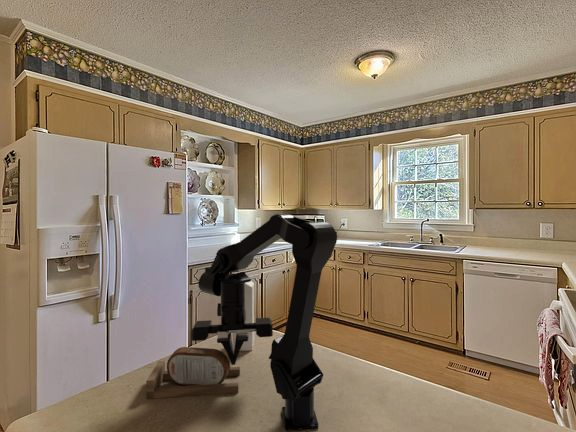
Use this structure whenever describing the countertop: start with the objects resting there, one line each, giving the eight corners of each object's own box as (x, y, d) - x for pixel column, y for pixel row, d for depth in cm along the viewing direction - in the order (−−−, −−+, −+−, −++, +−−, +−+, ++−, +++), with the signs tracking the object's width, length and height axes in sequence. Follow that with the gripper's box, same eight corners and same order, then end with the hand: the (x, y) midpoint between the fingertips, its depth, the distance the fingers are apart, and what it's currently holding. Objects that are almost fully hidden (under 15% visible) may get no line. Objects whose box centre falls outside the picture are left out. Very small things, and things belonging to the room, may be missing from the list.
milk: (232, 351, 92) (231, 276, 92) (235, 342, 98) (234, 272, 98) (253, 350, 92) (252, 276, 92) (254, 342, 99) (253, 272, 98)
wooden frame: (238, 392, 71) (238, 375, 71) (146, 398, 69) (146, 380, 69) (239, 372, 80) (239, 356, 80) (158, 377, 78) (158, 361, 78)
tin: (230, 382, 75) (230, 348, 75) (226, 390, 72) (226, 353, 72) (171, 378, 77) (171, 344, 77) (164, 386, 74) (164, 350, 74)
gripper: (269, 289, 84) (270, 347, 84) (198, 292, 82) (199, 351, 82) (272, 301, 73) (273, 367, 73) (190, 304, 71) (191, 373, 71)
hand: (233, 364), depth 75 cm, fingers closed
